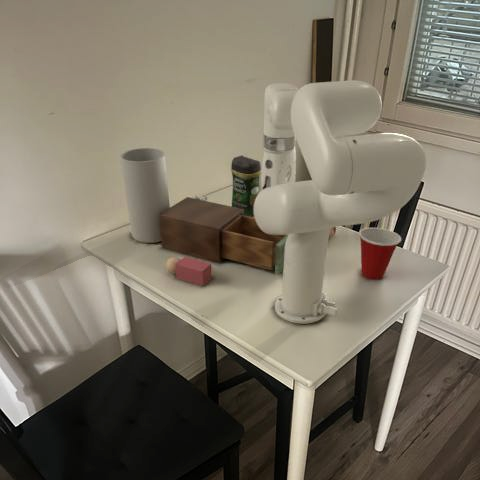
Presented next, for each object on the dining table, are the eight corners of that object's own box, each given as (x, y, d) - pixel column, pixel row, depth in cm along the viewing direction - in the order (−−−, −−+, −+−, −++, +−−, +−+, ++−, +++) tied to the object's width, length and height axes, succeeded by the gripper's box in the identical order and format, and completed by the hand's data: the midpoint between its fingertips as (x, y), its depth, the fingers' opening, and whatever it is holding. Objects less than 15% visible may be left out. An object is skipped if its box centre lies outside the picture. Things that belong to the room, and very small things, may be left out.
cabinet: (243, 242, 149) (243, 209, 142) (219, 263, 138) (218, 228, 132) (189, 229, 156) (187, 196, 150) (162, 248, 146) (158, 214, 140)
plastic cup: (401, 275, 133) (410, 235, 126) (377, 289, 127) (385, 248, 120) (368, 260, 140) (375, 221, 132) (344, 273, 134) (350, 233, 127)
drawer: (314, 257, 139) (317, 229, 134) (295, 279, 129) (297, 249, 124) (241, 240, 148) (241, 212, 143) (219, 259, 138) (218, 230, 133)
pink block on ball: (212, 278, 132) (211, 263, 129) (203, 286, 129) (202, 271, 126) (172, 267, 137) (171, 252, 134) (163, 274, 134) (161, 259, 131)
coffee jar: (227, 211, 167) (226, 157, 156) (244, 205, 172) (244, 151, 161) (247, 220, 162) (247, 164, 151) (263, 213, 166) (265, 158, 155)
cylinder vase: (180, 234, 153) (173, 154, 139) (148, 248, 146) (138, 165, 131) (155, 222, 160) (146, 145, 146) (124, 235, 153) (111, 155, 138)
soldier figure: (195, 223, 162) (182, 200, 168) (204, 228, 166) (191, 206, 172) (212, 207, 160) (198, 184, 166) (220, 213, 164) (207, 190, 170)
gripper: (278, 153, 107) (275, 229, 118) (307, 136, 118) (301, 207, 129) (249, 147, 111) (248, 222, 122) (280, 131, 121) (276, 201, 132)
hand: (276, 214), depth 125 cm, fingers closed
